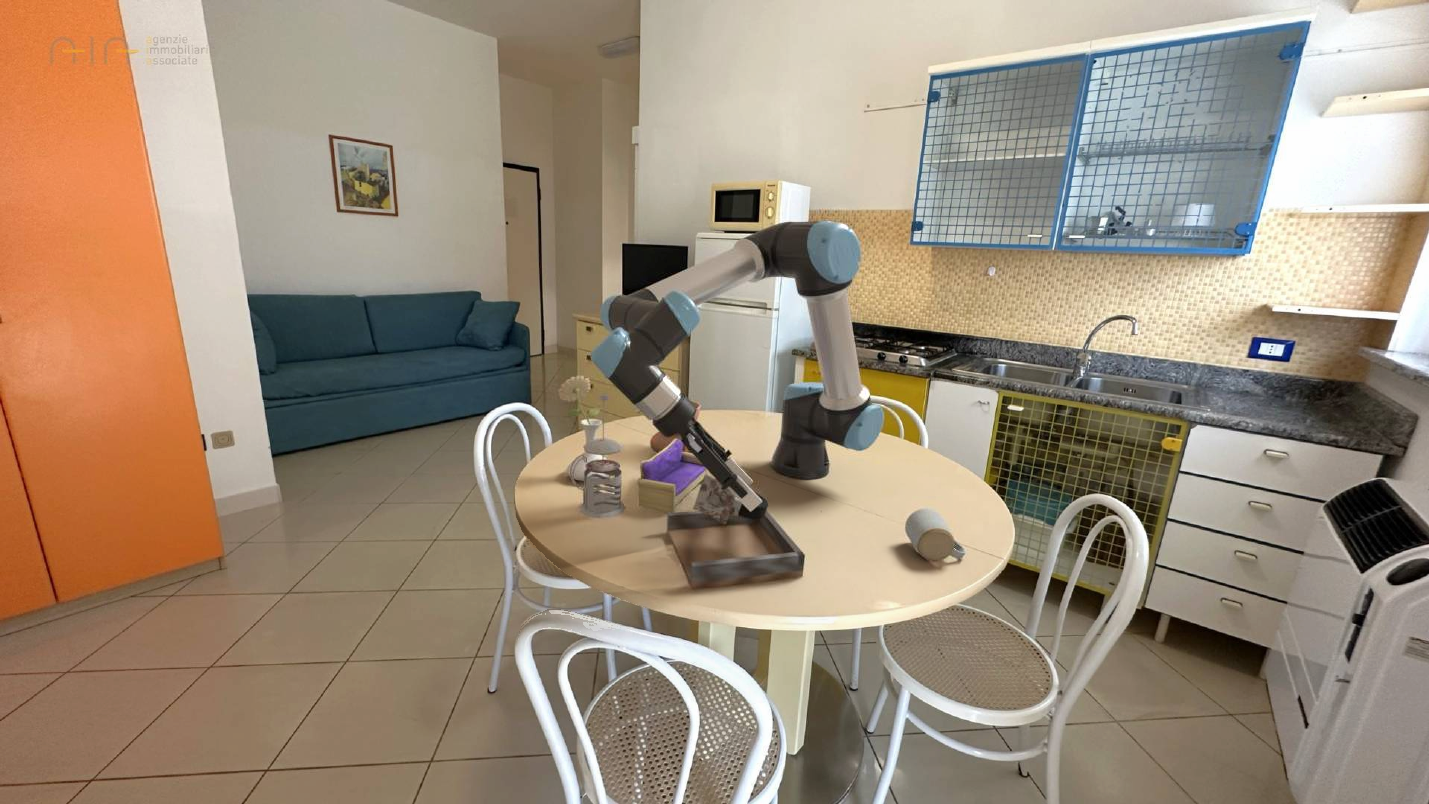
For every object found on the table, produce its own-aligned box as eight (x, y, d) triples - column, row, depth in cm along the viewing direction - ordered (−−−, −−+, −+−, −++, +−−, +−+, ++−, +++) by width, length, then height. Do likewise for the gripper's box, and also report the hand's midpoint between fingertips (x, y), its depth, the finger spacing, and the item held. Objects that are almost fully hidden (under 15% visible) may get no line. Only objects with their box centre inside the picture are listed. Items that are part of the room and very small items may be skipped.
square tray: (761, 524, 118) (763, 506, 117) (802, 576, 100) (804, 555, 99) (666, 532, 113) (667, 513, 112) (691, 589, 94) (692, 566, 93)
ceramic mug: (914, 562, 107) (921, 525, 105) (901, 541, 115) (907, 506, 113) (971, 566, 107) (979, 529, 105) (954, 545, 115) (961, 510, 113)
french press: (632, 513, 120) (635, 398, 114) (578, 523, 114) (578, 402, 108) (616, 495, 128) (618, 387, 122) (564, 504, 122) (564, 390, 116)
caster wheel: (766, 523, 107) (747, 537, 98) (714, 497, 111) (691, 508, 102) (778, 491, 106) (760, 502, 96) (725, 466, 110) (703, 474, 100)
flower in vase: (610, 466, 145) (612, 370, 139) (618, 484, 134) (620, 380, 128) (557, 470, 141) (556, 370, 134) (560, 488, 130) (559, 381, 124)
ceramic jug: (646, 443, 164) (647, 396, 160) (696, 442, 167) (698, 395, 163) (654, 468, 147) (655, 415, 143) (709, 465, 150) (712, 414, 146)
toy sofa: (672, 516, 120) (674, 470, 118) (635, 507, 123) (636, 463, 121) (708, 482, 139) (710, 442, 137) (675, 475, 142) (677, 436, 140)
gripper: (650, 405, 108) (728, 486, 114) (650, 440, 88) (745, 536, 94) (679, 379, 107) (756, 461, 113) (686, 408, 87) (780, 507, 93)
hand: (751, 495), depth 104 cm, fingers closed on caster wheel, 8 cm apart
